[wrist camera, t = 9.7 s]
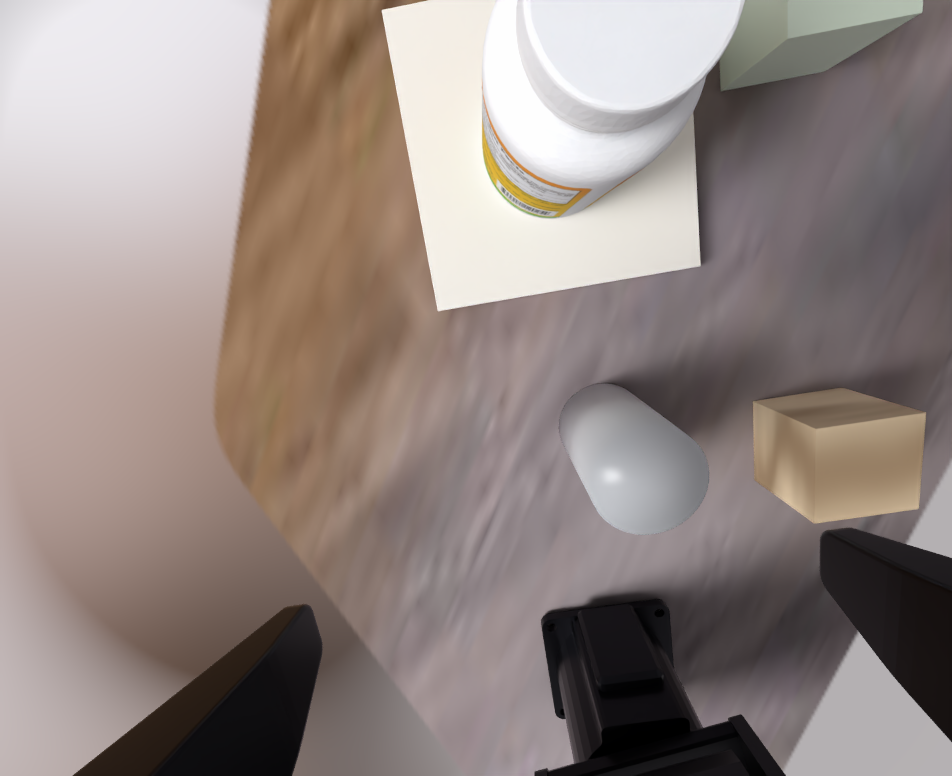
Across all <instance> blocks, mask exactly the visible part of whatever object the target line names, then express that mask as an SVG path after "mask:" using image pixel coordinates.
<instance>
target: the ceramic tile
mask: <svg viewBox="0 0 952 776" xmlns="http://www.w3.org/2000/svg"><path fill="white" fill-rule="evenodd" d="M495 2H496V0H428V1H424V2H419V3H414V4H409V5H404V6H399V7H394V8H390V9H385V10H382V14H383V20H384V25H385V30H386V36H387V41H388V47H389V52H390V57H391V63H392V68H393V73H394V79H395V84H396V89H397V95H398V100H399V105H400V111H401V116H402V121H403V127H404V132H405V138H406V143H407V148H408V154H409V159H410V164H411V170H412V175H413V180H414V186H415V191H416V196H417V202H418V207H419V212H420V218H421V223H422V229H423V234H424V239H425V245H426V250H427V255H428V261H429V266H430V271H431V277H432V282H433V287H434V293H435V298H436V303H437V309H438V311H441V310H447V309H453V308H459V307H465V306H470V305H476V304H482V303H488V302H494V301H500V300H506V299H511V298H517V297H523V296H529V295H535V294H541V293H547V292H552V291H558V290H564V289H570V288H576V287H582V286H587V285H593V284H599V283H605V282H611V281H617V280H623V279H628V278H634V277H640V276H646V275H652V274H658V273H663V272H669V271H675V270H681V269H687V268H693V267H699V266H700V245H699V223H698V201H697V180H696V158H695V137H694V115H693V113H692V115H691V116H690V118H689V120H688V122H687V123H686V125H685V126H684V128H683V129H682V131H681V132H680V134H679V135H678V136H677V137H676V138H675V140H674V141H673V142H672V143H671V144H670V146H669V147H668V148H667V149H666V150H664V151H663V152H662V153H661V154H660V155H659V156H658V157H657V158H656V159H655V160H654V161H653V162H651V163H650V164H649V165H647V166H646V167H645V168H644V169H642V170H641V171H639V172H638V173H637V174H635V175H634V176H632V177H631V178H629V179H628V180H626V181H625V182H623V183H622V184H620V185H619V186H617V187H616V188H614V189H613V190H611V191H610V192H609V193H607V194H606V195H604V196H603V197H602V198H600V199H599V200H597V201H596V202H594V203H593V204H592V205H590V206H589V207H587V208H585V209H583V210H581V211H579V212H578V213H575V214H573V215H570V216H566V217H562V218H555V219H544V218H537V217H533V216H530V215H527V214H524V213H522V212H520V211H518V210H517V209H515V208H514V207H512V206H511V205H510V204H508V203H507V202H506V201H505V200H504V199H503V198H502V197H501V196H500V194H499V193H498V192H497V190H496V189H495V187H494V186H493V184H492V183H491V181H490V178H489V176H488V174H487V171H486V167H485V164H484V158H483V149H482V60H483V46H484V40H485V35H486V29H487V26H488V22H489V18H490V15H491V12H492V9H493V7H494V4H495Z"/></svg>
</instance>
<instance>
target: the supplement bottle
mask: <svg viewBox="0 0 952 776" xmlns="http://www.w3.org/2000/svg"><path fill="white" fill-rule="evenodd" d="M744 2H745V0H496V2H495V4H494V7H493V9H492V12H491V15H490V18H489V22H488V26H487V29H486V35H485V40H484V46H483V60H482V149H483V158H484V164H485V167H486V171H487V174H488V176H489V178H490V181H491V183H492V184H493V186H494V187H495V189H496V190H497V192H498V193H499V194H500V196H501V197H502V198H503V199H504V200H505V201H506V202H507V203H508V204H510V205H511V206H512V207H514V208H515V209H517V210H518V211H520V212H522V213H524V214H527V215H530V216H533V217H537V218H544V219H555V218H562V217H566V216H570V215H573V214H575V213H578V212H579V211H581V210H583V209H585V208H587V207H589V206H590V205H592V204H593V203H594V202H596V201H597V200H599V199H600V198H602V197H603V196H604V195H606V194H607V193H609V192H610V191H611V190H613V189H614V188H616V187H617V186H619V185H620V184H622V183H623V182H625V181H626V180H628V179H629V178H631V177H632V176H634V175H635V174H637V173H638V172H639V171H641V170H642V169H644V168H645V167H646V166H647V165H649V164H650V163H651V162H653V161H654V160H655V159H656V158H657V157H658V156H659V155H660V154H661V153H662V152H663V151H664V150H666V149H667V148H668V147H669V146H670V144H671V143H672V142H673V141H674V140H675V138H676V137H677V136H678V135H679V134H680V132H681V131H682V129H683V128H684V126H685V125H686V123H687V122H688V120H689V118H690V116H691V115H692V113H693V111H694V109H695V107H696V105H697V102H698V100H699V98H700V95H701V92H702V89H703V87H704V84H705V79H706V75H707V74H708V73H709V72H710V71H711V70H712V68H713V67H714V66H715V65H716V64H717V62H718V61H719V59H720V58H721V56H722V55H723V53H724V51H725V50H726V48H727V46H728V45H729V43H730V41H731V39H732V37H733V35H734V33H735V30H736V28H737V25H738V22H739V19H740V16H741V13H742V10H743V6H744Z"/></svg>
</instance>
